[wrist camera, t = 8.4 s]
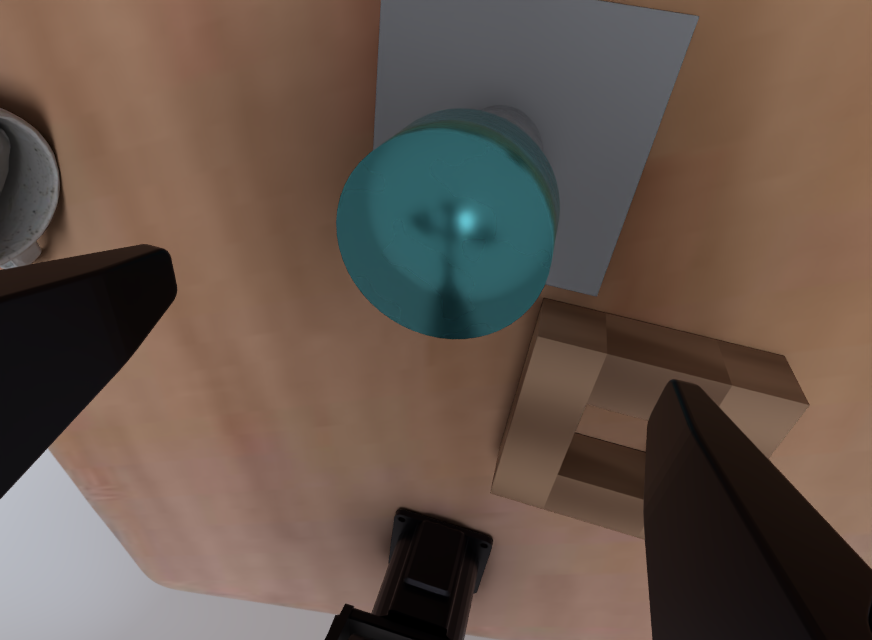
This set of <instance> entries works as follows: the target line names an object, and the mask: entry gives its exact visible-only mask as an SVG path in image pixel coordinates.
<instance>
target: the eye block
mask: <svg viewBox="0 0 872 640" xmlns="http://www.w3.org/2000/svg"><path fill="white" fill-rule="evenodd" d="M672 379H678V380H682V381H686V382H690V383H694V384H697V385H699V386H700V387H701V388H702V389H703V390H704V391H705V392H706V393H707V394H708V395H709V397H710V398H711V399H712V400H713V401H714V402H715V403H716V404H717V405H718V406H719V407H720V408H721V409H722V410H723V411H724V412H725V414H726V415H727V416H728V417H729V418H730V419H731V420H732V421H733V422H734V423H735V424H736V425H737V426H738V427H739V428H740V430H741V431H742V432H743V433H744V434H745V435H746V436H747V437H748V438H749V439H750V440H751V441H752V442H753V443H754V444H755V445H756V447H757V448H758V449H759V450H760V451H761V452H762V453H763V454H764V455H765V456H766V457H767V458H768V459H769V458H770V456H771V455H772V454H773V452H774V451H775V450H776V448H777V447H778V446H779V444H780V443H781V442H782V441H783V439H784V438H785V437H786V435H787V434H788V433H789V431H790V430H791V429H792V428H793V426H794V425H795V424H796V422H797V421H798V420H799V418H800V417H801V416H802V415H803V413H804V412H805V411H806V409H807V408H808V407H809V403H808V401H807V399H806V397H805V395H804V393H803V391H802V389H801V387H800V385H799V383H798V381H797V379H796V377H795V375H794V373H793V371H792V369H791V368H790V366H789V364H788V362H787V360H786V358H785V356H782V355H777V354H773V353H769V352H765V351H761V350H757V349H753V348H748V347H744V346H740V345H736V344H732V343H728V342H724V341H720V340H715V339H711V338H707V337H703V336H699V335H695V334H691V333H687V332H682V331H678V330H674V329H670V328H666V327H662V326H658V325H653V324H649V323H645V322H641V321H637V320H633V319H629V318H625V317H620V316H616V315H612V314H608V313H604V312H600V311H596V310H591V309H587V308H583V307H579V306H575V305H571V304H567V303H563V302H558V301H554V300H550V299H546V298H544V299H543V303H542V306H541V310H540V313H539V316H538V320H537V323H536V327H535V330H534V333H533V337H532V340H531V344H530V347H529V350H528V354H527V357H526V361H525V364H524V367H523V371H522V374H521V377H520V381H519V384H518V388H517V391H516V394H515V398H514V401H513V405H512V408H511V411H510V415H509V418H508V422H507V425H506V428H505V432H504V435H503V439H502V442H501V445H500V449H499V453H498V458H497V463H496V468H495V473H494V477H493V482H492V487H491V492H490V493H491V494H495V495H498V496H501V497H505V498H508V499H511V500H515V501H518V502H521V503H525V504H528V505H531V506H535V507H538V508H541V509H545V510H548V511H551V512H554V513H558V514H561V515H564V516H568V517H571V518H574V519H578V520H581V521H584V522H588V523H591V524H594V525H598V526H601V527H604V528H608V529H611V530H614V531H618V532H621V533H624V534H628V535H631V536H634V537H637V538H641V539H644V540H645V534H644V517H643V500H644V479H645V460H646V453H645V452H642V451H638V450H634V449H631V448H627V447H624V446H620V445H616V444H613V443H609V442H606V441H602V440H598V439H595V438H591V437H588V436H584V435H580V434H577V433H575V431H576V428H577V426H578V424H579V421H580V419H581V416H582V414H583V411H584V409H585V407H586V404H588V405H591V406H595V407H599V408H602V409H606V410H610V411H614V412H617V413H621V414H625V415H629V416H632V417H636V418H640V419H643V420H647V421H649V417H650V415H651V412H652V411H653V409H654V407H655V405H656V403H657V401H658V399H659V397H660V395H661V393H662V391H663V390H664V388H665V386H666V384H667V383H668V382H669V381H670V380H672Z"/></svg>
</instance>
